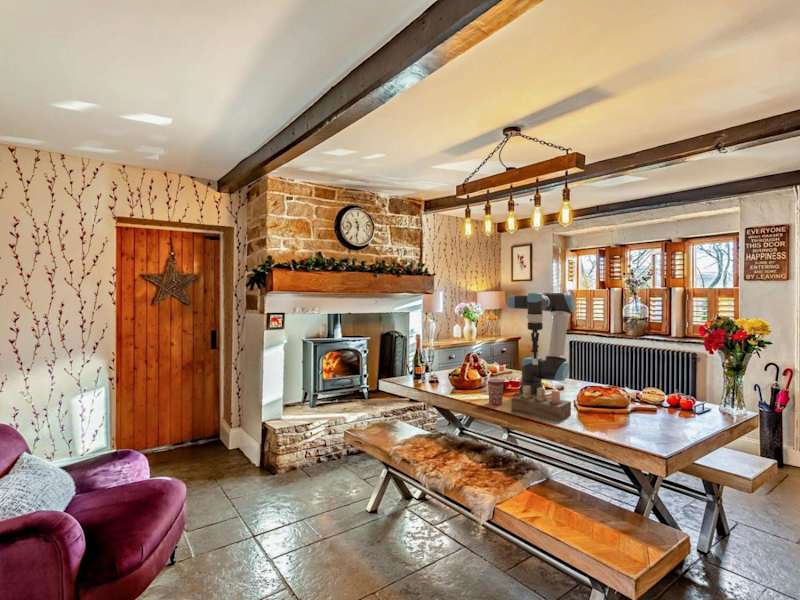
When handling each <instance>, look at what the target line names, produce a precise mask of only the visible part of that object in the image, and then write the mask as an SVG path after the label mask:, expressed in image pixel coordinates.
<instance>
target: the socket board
mask: <svg viewBox="0 0 800 600" xmlns="http://www.w3.org/2000/svg"><path fill="white" fill-rule="evenodd" d="M571 408H572V402H571V401H570V400H569V401H568V400H564V399H560V404H553V403H552V397H546V396H545V401H544V402H542V401H537V396H535V395H530V399H525V398H523V394H522V395H519V394H518V395H517V396H515V397H512V398H511V412H512V411H513V413H516V414H517V413H518V414H521V415H527V416H532V417H537V418H542V419H548V420H551V421H555V422H556V421H557V422H561V421H563V420H564V419H566V418H569V417H571V414H572V409H571Z"/></svg>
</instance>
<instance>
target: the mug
mask: <svg viewBox="0 0 800 600" xmlns="http://www.w3.org/2000/svg"><path fill="white" fill-rule="evenodd" d="M487 386H488V387H487V388H488V402H489V404H490V405H492V406H501V405H503V399H504V398H503V397H504V394H505V393H506V388H507V385H506V382H505V380H504V379H503V378H502V379H501V378H496V377H495V378H488V379H487Z"/></svg>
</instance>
